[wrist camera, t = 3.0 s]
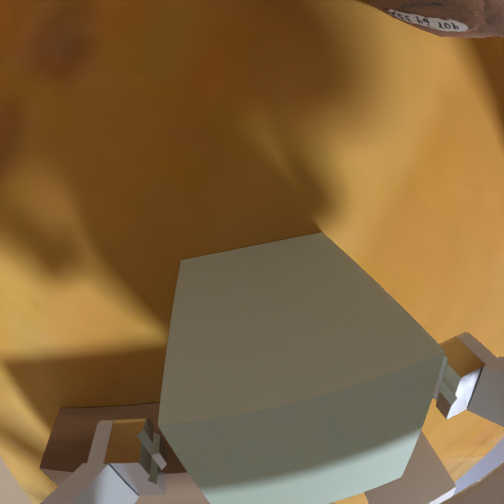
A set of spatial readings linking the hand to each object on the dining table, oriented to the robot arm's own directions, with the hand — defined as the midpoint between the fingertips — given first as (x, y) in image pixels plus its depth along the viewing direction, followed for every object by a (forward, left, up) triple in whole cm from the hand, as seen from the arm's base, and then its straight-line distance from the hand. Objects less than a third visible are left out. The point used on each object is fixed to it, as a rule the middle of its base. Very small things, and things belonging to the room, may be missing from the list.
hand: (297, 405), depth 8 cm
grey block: (+14, +7, -5) cm, 17 cm away
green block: (-1, 0, -5) cm, 5 cm away
